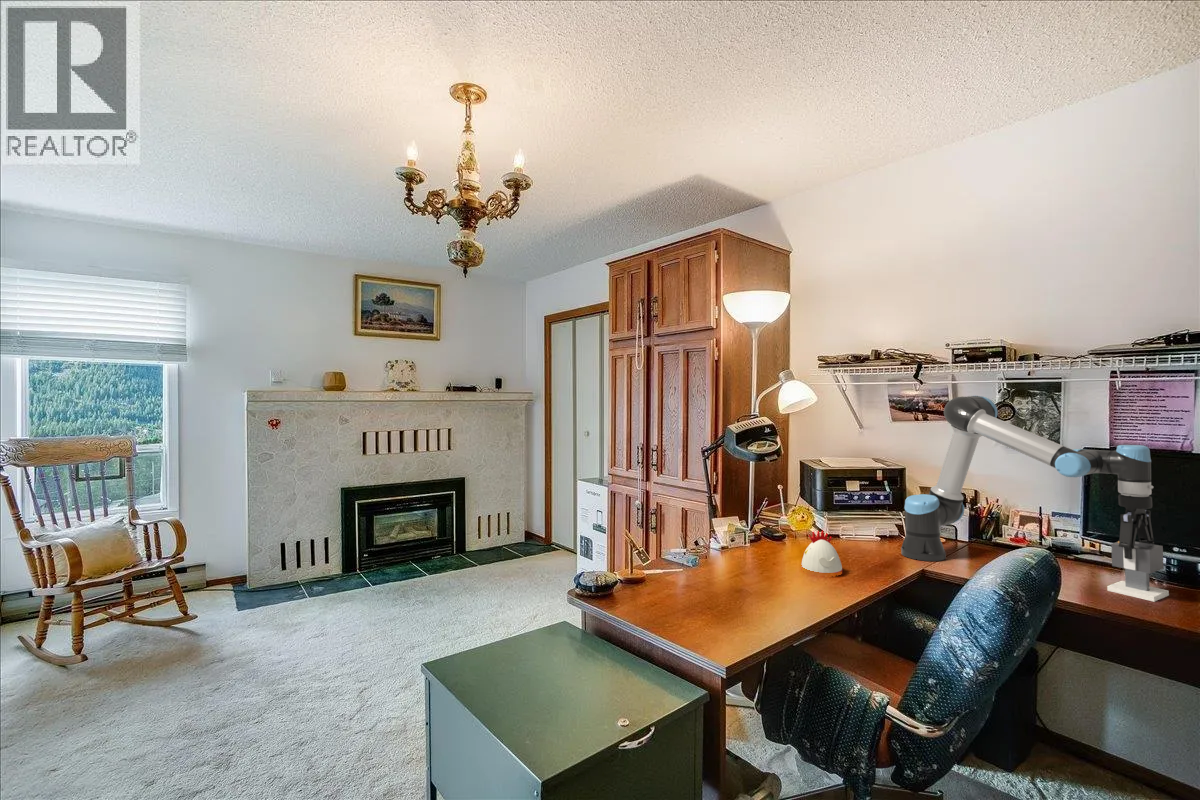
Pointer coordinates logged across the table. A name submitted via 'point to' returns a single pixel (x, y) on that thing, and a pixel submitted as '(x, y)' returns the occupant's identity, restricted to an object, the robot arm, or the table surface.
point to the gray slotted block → (1140, 557)
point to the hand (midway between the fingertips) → (1137, 566)
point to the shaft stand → (1137, 586)
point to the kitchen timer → (821, 555)
